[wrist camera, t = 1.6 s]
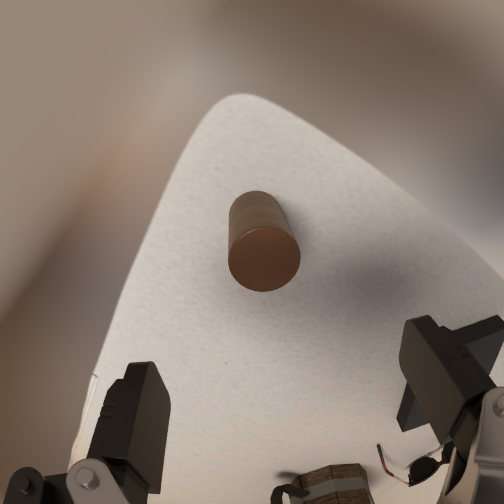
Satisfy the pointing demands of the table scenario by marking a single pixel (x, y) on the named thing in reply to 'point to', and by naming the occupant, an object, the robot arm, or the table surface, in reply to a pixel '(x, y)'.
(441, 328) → the robot arm
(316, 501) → the mug
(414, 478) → the sunglasses
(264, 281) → the plug
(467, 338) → the black board with hole
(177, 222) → the table surface
